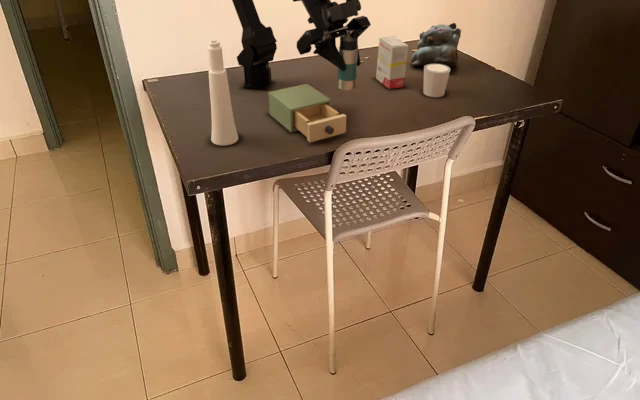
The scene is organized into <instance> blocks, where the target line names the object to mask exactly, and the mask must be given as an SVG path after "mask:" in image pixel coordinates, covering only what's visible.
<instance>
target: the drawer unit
mask: <svg viewBox="0 0 640 400" xmlns="http://www.w3.org/2000/svg"><path fill="white" fill-rule="evenodd" d="M324 103H326V104H327V105H329V106H330V107H331V108H332V106H331V105H332V100H331V98H329V97H328V96H326V95H325V94H323V93H322V92H321V91H318V90H317V89H316V88H314V87H313V86H312V85H310V84H308V83H304V84H300V85H294V86H290V87H285V88H281V89H277V90H272V91H268V108H269V115H270V116H271V117H272V118H273V119H274V120H276V121H277V122H278V123H279V124H280V125H281V126H282V127H284V128H285V129H287V131H289V132H290V133H294V132H299V130H298V129H297V128H295V127H294V126H293V111H296V110H300V109H304V108H308V107H312V106H316V105H320V104H324Z"/></svg>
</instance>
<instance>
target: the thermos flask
mask: <svg viewBox="0 0 640 400" xmlns="http://www.w3.org/2000/svg"><path fill="white" fill-rule="evenodd" d="M358 41H359V37H358V38H356V37H354V36H343V37H341V38H340V37H339V47H338V51H339V53H340V55H341V57H342V59H343V61H344V63H345V66H346V70H345V71H342V70H340V69H339V68H338V67H337V88H338V89H340V90H341V91H354V90H355V89H356V88H357V74H358V66H357V56H358V50H359V46H358V47H357V44H358V45H359V43H358Z"/></svg>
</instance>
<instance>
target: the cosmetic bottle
mask: <svg viewBox="0 0 640 400" xmlns="http://www.w3.org/2000/svg"><path fill="white" fill-rule="evenodd" d="M207 52H208V62H209V69H208V87H209V98H210V99H209V100H210V113H211V114H210V115H211V136H210V140H211V142H212V144H213V145H217V146H223V147H225V146H229V145H230V146H231V145H234V144H235V143H237V142H238V141H239V134H238V131H237V127H236V123H235V118H234V113H233V107H232V100H231V99H232V98H231V94H230V86H229V80H228V73H227V69H226V68H225V66H224V58H223V57H224V55H223V47H222V46H221V42H220V40H214V39H213V40H209V41H208V47H207Z"/></svg>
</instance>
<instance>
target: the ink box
mask: <svg viewBox="0 0 640 400" xmlns="http://www.w3.org/2000/svg"><path fill="white" fill-rule="evenodd" d="M377 51H378V52H377V63H376V74H375V79H376V80H377V81H378V82H379V83H381V84H382V85H383V86H385V87H386V88H387V89H388V90H391V89H399V88H405V77H406V69H407V60H408V51H409V45H408V44H407V43H405V42H404V41H402V40H401V39H399V38H398V37H396V36H380V37H379V38H378V50H377Z"/></svg>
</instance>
